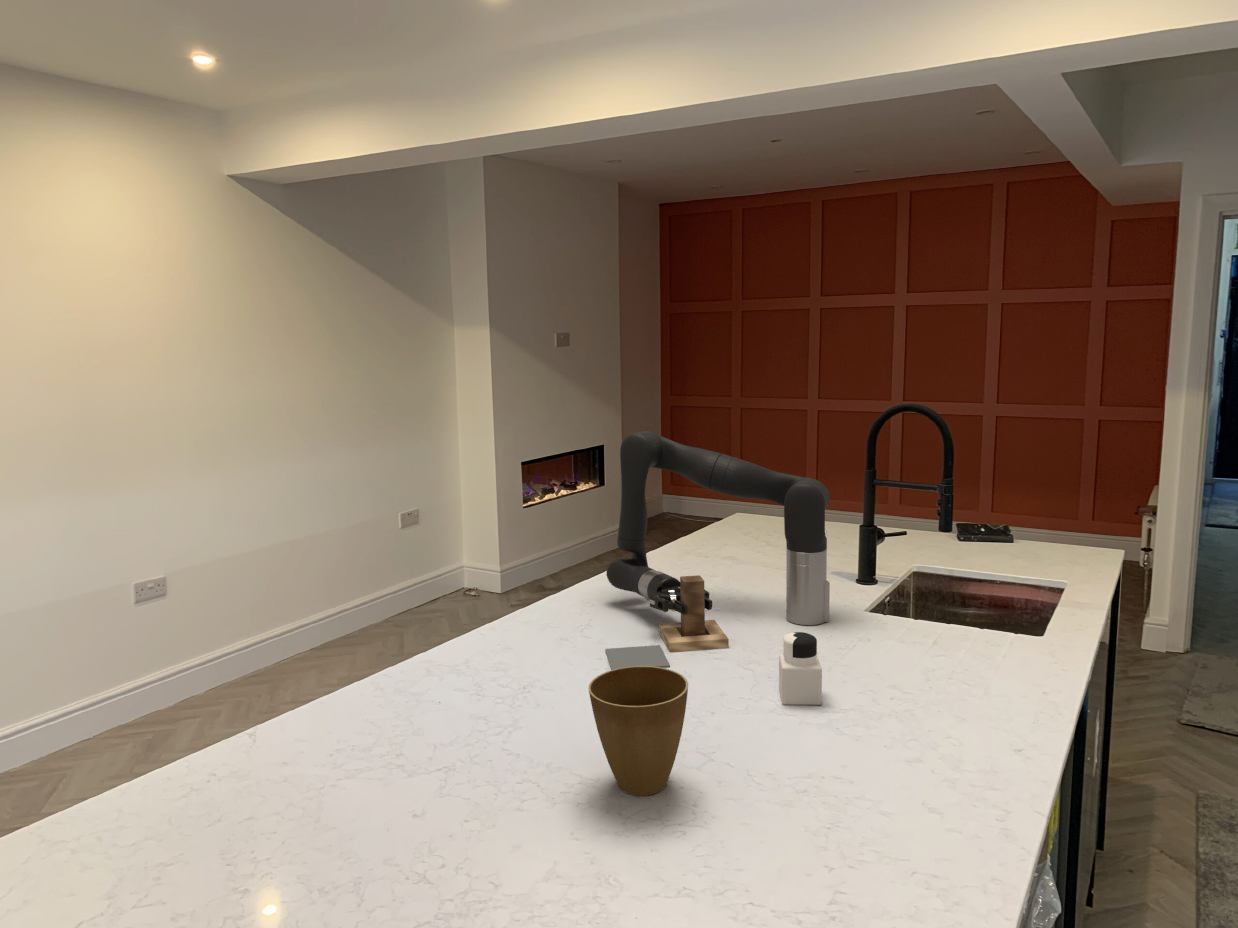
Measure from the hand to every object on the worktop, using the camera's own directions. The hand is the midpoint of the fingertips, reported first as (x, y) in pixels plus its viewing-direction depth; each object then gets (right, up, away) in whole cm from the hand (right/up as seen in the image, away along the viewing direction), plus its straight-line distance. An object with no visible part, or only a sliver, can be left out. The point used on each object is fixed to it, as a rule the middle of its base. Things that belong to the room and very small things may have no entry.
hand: (698, 607), depth 190 cm
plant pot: (-14, -17, -58) cm, 62 cm away
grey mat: (-14, -10, -7) cm, 18 cm away
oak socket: (-1, -8, +3) cm, 8 cm away
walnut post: (-1, -8, +3) cm, 8 cm away
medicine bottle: (+16, -12, -28) cm, 35 cm away
